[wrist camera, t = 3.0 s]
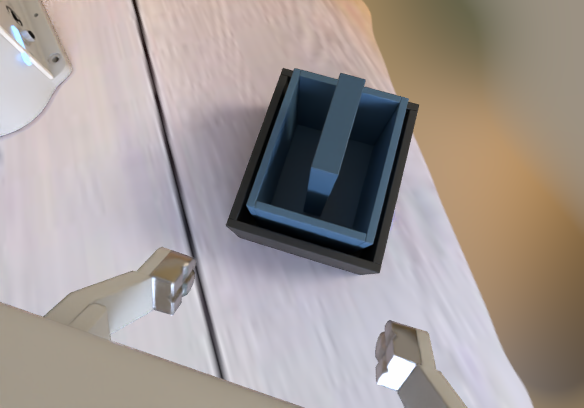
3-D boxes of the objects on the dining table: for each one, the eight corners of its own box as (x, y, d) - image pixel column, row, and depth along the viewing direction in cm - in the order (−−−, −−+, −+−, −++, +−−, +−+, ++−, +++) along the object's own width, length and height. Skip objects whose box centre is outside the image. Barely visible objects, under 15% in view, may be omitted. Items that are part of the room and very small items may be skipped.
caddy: (350, 254, 36) (392, 235, 21) (258, 226, 36) (235, 188, 22) (379, 144, 39) (432, 61, 24) (293, 120, 40) (295, 25, 25)
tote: (360, 275, 36) (379, 273, 28) (239, 237, 37) (225, 225, 29) (395, 138, 40) (419, 104, 32) (284, 107, 41) (282, 67, 33)
